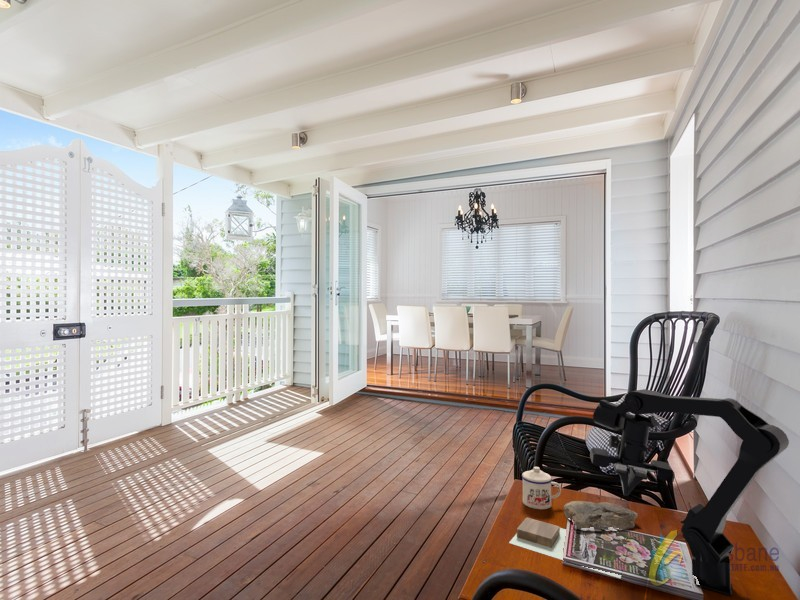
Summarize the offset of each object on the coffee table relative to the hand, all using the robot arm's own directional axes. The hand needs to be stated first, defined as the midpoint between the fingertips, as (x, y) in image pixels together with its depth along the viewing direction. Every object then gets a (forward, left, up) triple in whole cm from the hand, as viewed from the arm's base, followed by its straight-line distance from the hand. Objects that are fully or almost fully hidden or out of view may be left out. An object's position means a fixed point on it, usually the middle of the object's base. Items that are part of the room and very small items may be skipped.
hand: (625, 495), depth 110 cm
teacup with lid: (+25, -12, -13) cm, 31 cm away
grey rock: (+7, -10, -14) cm, 19 cm away
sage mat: (+12, +9, -13) cm, 20 cm away
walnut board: (+15, +9, -11) cm, 21 cm away
